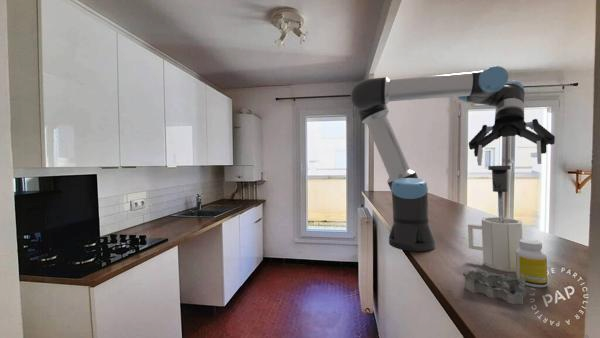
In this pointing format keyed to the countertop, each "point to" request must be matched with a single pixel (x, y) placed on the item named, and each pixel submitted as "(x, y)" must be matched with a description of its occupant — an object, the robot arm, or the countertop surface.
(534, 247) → the supplement bottle
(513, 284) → the egg carton
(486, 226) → the white paneled mug
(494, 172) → the plunger
